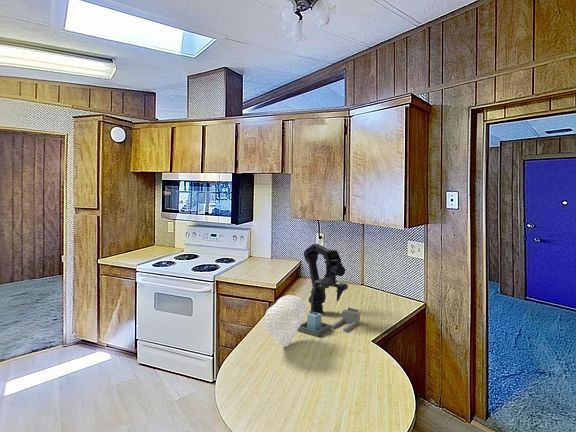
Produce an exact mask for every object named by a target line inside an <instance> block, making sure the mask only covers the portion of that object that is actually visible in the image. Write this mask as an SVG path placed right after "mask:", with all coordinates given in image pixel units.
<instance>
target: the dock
mask: <svg viewBox="0 0 576 432" xmlns="http://www.w3.org/2000/svg"><path fill="white" fill-rule="evenodd" d="M341 313H342V314H341V318H340V319H338V320H337V321H335V322H333V323H332V324H330V325H331V330H332V329H336V328H337V327H339V326H340V325H342V324H343V323H347V324H348V325H346V326H344V327H342V331H343V332H344V333H347V332H348V331H349V330H351V329H353V328H354V327H356V326H357V325H359V324H360V321H361V312H359V309H357V308H352V307H347V309H343V310H342V311H341Z"/></svg>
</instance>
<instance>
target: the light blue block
mask: <svg viewBox="0 0 576 432" xmlns="http://www.w3.org/2000/svg"><path fill="white" fill-rule="evenodd" d="M306 318H307V320H306V321H307V328H308V329H312V330H315V331H318V330H320V329H321V322H322V313H321V314H320V313H316V312H311V313H310V312H309V313H308V314H307V317H306Z"/></svg>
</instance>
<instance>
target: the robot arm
mask: <svg viewBox="0 0 576 432" xmlns="http://www.w3.org/2000/svg"><path fill="white" fill-rule="evenodd" d="M319 255H320V256H321V255H322V256H323V259H324V260H325V261H324V264H325V273H324V276H323V278H322V279H321V278H320V275H319V270H318V265H317V261H318V258H319ZM303 257H304V261H305V262H306V263H307V264H308V268H309V273H310V281H311V285H312V288H311V291H310V295H309V297H308V303H310V311H309V314H310V313H311V312H316V313H320V314H321V315H322V314H323V313H324V309H323V308H324V305H323V303H325V301H326V297H327V295H326V289H329V288H330V287H332V288H336V290H335V291H336V302H339V301H340V299H341V297H342V294H343V293H344V291H346V290H348V287H349V286H348V284H347V283H345V282H340V283H338V281H337V276H338V277H343V276H345V274H346V268H345V266H343V262H342V258H341V257H340V255H339V252H338V250H337V249H329V248H327V247H325V246H324V245H321V244H320V243H313V244H311V245H309V246H308V247H307V248H305V250H304V252H303Z"/></svg>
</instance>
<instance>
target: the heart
mask: <svg viewBox="0 0 576 432" xmlns="http://www.w3.org/2000/svg"><path fill="white" fill-rule="evenodd" d="M306 310H307V309H306V303H305V302H304V301H303V300H302V299H301V298H300V297H298V296H297V295H294V294H293V295H292V294H287V295H284V296H281V297H280V298H278V299H277V301H276V302H275V304H273V305H271V306H270V307H269V308H268V309H267V310H266V312H265V313H264V323H265V327H266V328H267V330H268V332H269V333H270V334H271V335H272V336H273V337H274V338H275V340H276V341H277V342H278V343H279V344H280V345H281V346H282V347H284V348H285V347H288V346H290V344H291V343H292V341H293V339H294V337H295V336H296V334H297V333H298V329H299V327H300V325H301V324H302V323H303V321H304V319H305V317H306Z"/></svg>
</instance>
